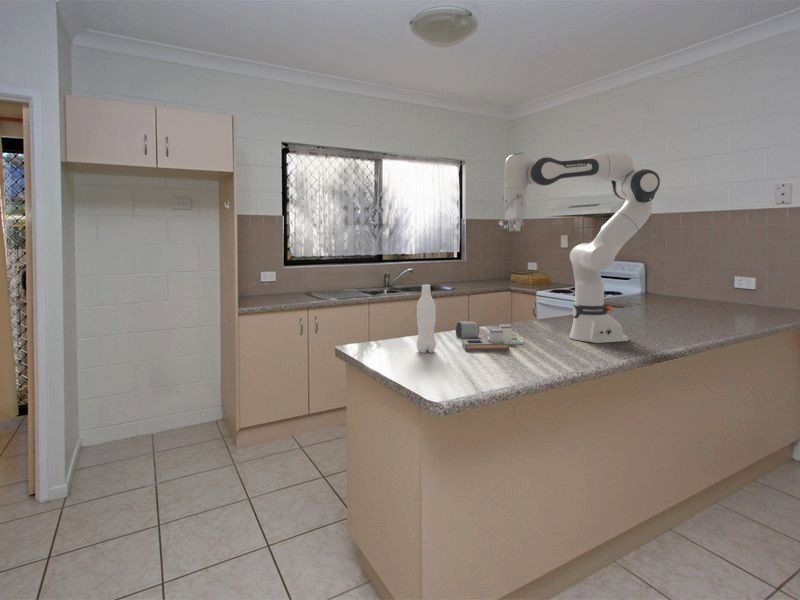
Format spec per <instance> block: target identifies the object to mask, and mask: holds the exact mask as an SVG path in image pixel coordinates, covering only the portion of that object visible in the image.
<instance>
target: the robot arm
mask: <svg viewBox="0 0 800 600" xmlns="http://www.w3.org/2000/svg"><path fill="white" fill-rule="evenodd" d="M503 172H504V187H503V196H502V202H504V203H503V210H504V211H503V214H504V220H505V221H507V224H508V231H509V232H514V231H515V232H520V231H521V226H522V222H523V219H526V217H527V208H526V207H527V206H526V205H527V203H526V202H527V200H528V187H531V188H540V187H544V186H549V185H552V184H554V183H556V182H557V181H559V180H562V179H570V178H582V179H583V180H584V181H586V182H589V183H603V182H611V185H612V191H613V194H614V195H615V196H616V197H617V198H618V199H620V200H624V202H623V204H622V206H621V207H620V208H619V209H618V210H617V211H616V212H615V213H614V214H613V215H612V216H611V217H610V218H609V219H608V220H607V221H606V222H605V223H604V224H603V225H602V226H601V227H600V231H599V232H598V234H597V235H596V237H595V238H594V239H593V240H592V241H591V242H583V243H580V244H577V245H576V246H574V247H573V248H572V249H571V251H570V254H569V261H570V262H571V266H572V272H573V277H574V289H575V290H574V303H573V306H572V307H573V308H572V316H573V318H572V326H571V330H570V334H569V338H570V339H572V340H575V341H582V342H589V343H595V344H602V343H603V344H605V343H616V342H617V343H618V342H629V337H628V336H627V335H625V334H623V327H622V325H621V323H620V322H618V320H616V319H614V317H612V316H611V315H610V314H609V313H608V312H611V313H612V311H613V307H612V306H609V305H608V306H607V305H606V304H605V303H604V301H605V299H604V298H605V284H604V281H603V279H602V276H601V275H602V274H601V272H603V271H605V270H608V269H610V268H611V267H612V266H613V264H614V262H615V258H616V256H617V255H618V253H619V251H621V249H622V248H623V246H624V245H625V244H627V242H628V241H629V240H630V239H631V238H632V237H633V236H634V235H635V234H637V232H638V231H639V230H640V229H641V228H642V227H643V226H644V224H645V223H646V222H647V221H648V220H649V218H650V216H651V215H652V213H653V207H652V205H651V203H650V202H651V201H652V200H654V198H655V195H656V193H657V191H658V190H659V188H660V183H661V180H660V176H659V174H658V173H657V172H656V171H654V170H651V169H647V168H646V169H645V168H644V169H643V168H642V169H638V170H637V169H635V167H634V160H633V158H632V157H631V155H630V154H629V153H626V152H620V151H619V152H614V151H613V152H610V151H609V152H599V153H594V154H590V155H587V156H584V158H581V159H574V160H573V159H571V160H559V159H555V158H553V157H547V156H546V157H542V158H539V159H538V160H536V159H534V158H532V157H531V156H529V155H528V154H527V153H526V152H518V153H513V154H511V155H508V157H507V158H506V159H505V162H504V171H503Z"/></svg>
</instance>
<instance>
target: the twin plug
mask: <svg viewBox="0 0 800 600" xmlns="http://www.w3.org/2000/svg"><path fill="white" fill-rule="evenodd" d="M489 337H490V343H503V330H502V329H499V328H489Z"/></svg>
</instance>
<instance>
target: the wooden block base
mask: <svg viewBox="0 0 800 600" xmlns="http://www.w3.org/2000/svg"><path fill="white" fill-rule="evenodd" d="M461 342H462V343H461V344H462V345H461V347H462V349H464V351H465V352H496V351H497V352H502V351H503V352H504V351H508V352H509V351H510V344H509V343H508V342H507V341H506V340H505V339H503V343H490V339H488V338H486V339H485V338H484V339H483V338H482V339H476V338H475V339H462V340H461Z"/></svg>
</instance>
